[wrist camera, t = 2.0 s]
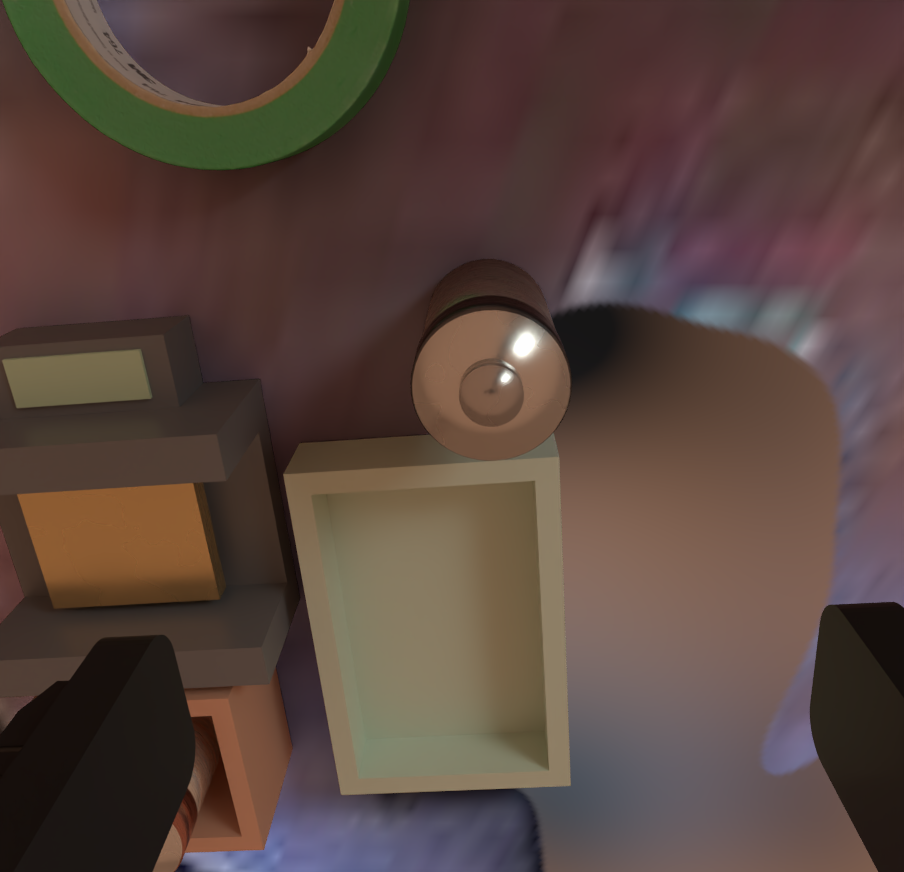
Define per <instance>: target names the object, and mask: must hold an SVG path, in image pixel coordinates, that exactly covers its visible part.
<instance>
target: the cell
mask: <svg viewBox="0 0 904 872" xmlns="http://www.w3.org/2000/svg"><path fill="white" fill-rule="evenodd" d="M571 392H572V377H571V370H570V366H569V362H568V359H567V356H566V353H565V350H564V348H563V345H562V342H561V340H560V337H559V335H558V334H557V332H556V330H555V327H554V324H553V321H552V318H551V315H550V313H549V310H548V307H547V304H546V301H545V298H544V296H543V293H542V291H541V289H540V288H539V286H538V284H537V283H536V282H535V280H534V279H533V278H532V277H531V276H530V275H529V274H528V273H526V272H525V271H524V270H523V269H521V268H519V267H518V266H516V265H514V264H511V263H509V262H506V261H502V260H496V259H480V260H475V261H471V262H468V263H465V264H463V265H461V266H459V267H457V268H456V269H454V270H452V271H451V272H450V273H449V274H447V275H446V276H445V277H444V279H443V280H442V281H441V282H440V283H439V285H438V286H437V288H436V289H435V291H434V293H433V295H432V298H431V301H430V305H429V309H428V313H427V317H426V322H425V326H424V330H423V334H422V338H421V340H420V343H419V345H418V348H417V352H416V356H415V361H414V365H413V369H412V373H411V396H412V402H413V405H414V408H415V411H416V414H417V416H418V418H419V420H420V422H421V423H422V425H423V426H424V428H425V429H426V430H427V432H428V433H429V434H430V435H431V436H432V437H433V438H434V439H435V440H436V441H437V442H438V443H440V444H441V445H442V446H444V447H445V448H447V449H448V450H450V451H452V452H454V453H456V454H459V455H461V456H464V457H467V458H471V459H476V460H484V461H497V460H505V459H510V458H514V457H517V456H520V455H522V454H525V453H527V452H529V451H531V450H533V449H535V448H536V447H537V446H539V445H540V444H542V443H543V442H544V441H545V440H546V439H548V438H549V437H550V436H551V435H552V433H553V432H554V431H555V430H556V429H557V427H558V426H559V424H560V423H561V421H562V420H563V417H564V415H565V413H566V411H567V408H568V405H569V402H570V397H571Z"/></svg>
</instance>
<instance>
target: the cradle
mask: <svg viewBox="0 0 904 872" xmlns="http://www.w3.org/2000/svg"><path fill="white" fill-rule="evenodd" d="M202 482H203V485H204V490H205V494H206V498H207V503H208V507H209V512H210V516H211V521H212V525H213V530H214V534H215V539H216V543H217V548H218V552H219V556H220V561H221V565H222V570H223V574H224V579H225V583H226V588H225V590H224V592H223V594H222V596H221V598H220V600H203V601H185V602H166V603H148V604H130V605H112V606H94V607H76V608H57V609H54V607H53V604H52V601H51V598H50V595H49V592H48V588H47V585H46V582H45V579H44V576H43V573H42V570H41V567H40V564H39V561H38V558H37V555H36V552H35V548H34V545H33V542H32V539H31V536H30V533H29V530H28V527H27V524H26V521H25V518H24V515H23V511H22V508H21V505H20V502H19V499H18V496H17V494H29V493H45V492H61V491H76V490H92V489H108V488H123V487H139V486H155V485H170V484H186V483H202ZM0 525H1V528H2V531H3V534H4V537H5V540H6V543H7V546H8V549H9V552H10V555H11V558H12V561H13V564H14V567H15V570H16V573H17V576H18V579H19V582H20V584H21V587H22V590H23V593H24V596H25V597H24V599H23V600H22V601H21V602H20V603H19V604H18V605H17V606H16V607H15V608H14V610H13V611H12V612H11V613H10V614H9V615H8V616H7V617H6V618H5V619H4V621H3V622H2V623H1V624H0V697H20V696H38V695H40V694H41V693H42V692H44V691H45V690H46V689H47V688H49V687H50V686H51V685H52V684H54V683H55V682H56V681H69V680H70V679H71V677H72V676H73V675H74V673H75V672H76V670H77V669H78V667H79V666H80V665H81V663H82V662H83V660H84V659H85V657H86V656H87V655H88V653H89V652H90V650H91V649H92V647H93V646H94V645H95V644H96V642H97V641H99V640H100V639H102V638H104V637H123V636H144V635H165V636H166V637H168V638H169V640H170V641H171V643H172V646H173V649H174V652H175V656H176V660H177V664H178V668H179V672H180V676H181V680H182V684H183V688H205V687H225V686H246V685H267V684H270V681H271V679H272V676H273V673H274V670H275V667H276V664H277V662H278V659H279V656H280V653H281V650H282V648H283V645H284V642H285V639H286V636H287V633H288V631H289V628H290V625H291V622H292V619H293V617H294V614H295V611H296V608H297V605H298V602H299V600H300V595H299V590H298V585H297V579H296V574H295V568H294V563H293V557H292V552H291V546H290V541H289V536H288V530H287V525H286V519H285V514H284V508H283V503H282V498H281V492H280V487H279V481H278V476H277V470H276V465H275V459H274V454H273V449H272V443H271V438H270V432H269V427H268V421H267V416H266V411H265V405H264V400H263V394H262V389H261V383H260V379H251V380H237V381H223V382H209V383H203V380H202V375H201V370H200V366H199V361H198V356H197V352H196V347H195V342H194V337H193V333H192V328H191V323H190V319H189V315H188V316H175V317H161V318H148V319H135V320H122V321H109V322H96V323H83V324H69V325H56V326H43V327H30V328H17V329H15V330H13V331H11V332H9V333H7V334H5V335H3V336H1V337H0Z"/></svg>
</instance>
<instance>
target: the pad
mask: <svg viewBox="0 0 904 872" xmlns="http://www.w3.org/2000/svg"><path fill="white" fill-rule="evenodd" d="M17 496H18V499H19V502H20V505H21V508H22V511H23V515H24V518H25V521H26V524H27V527H28V530H29V533H30V536H31V539H32V542H33V545H34V548H35V552H36V555H37V558H38V561H39V564H40V567H41V570H42V573H43V576H44V579H45V582H46V585H47V588H48V592H49V595H50V598H51V601H52V604H53V607H54V609H57V608H76V607H94V606H112V605H130V604H148V603H166V602H185V601H203V600H220V598H221V596H222V594H223V592H224V590H225V588H226V583H225V579H224V574H223V570H222V565H221V561H220V556H219V552H218V548H217V543H216V539H215V534H214V530H213V525H212V521H211V516H210V512H209V507H208V503H207V498H206V494H205V490H204V485H203V482H202V483H186V484H170V485H155V486H139V487H123V488H108V489H92V490H76V491H61V492H45V493H29V494H17Z"/></svg>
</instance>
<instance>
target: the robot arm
mask: <svg viewBox="0 0 904 872" xmlns="http://www.w3.org/2000/svg"><path fill="white" fill-rule="evenodd" d="M810 723H811V731H812V736H813V740H814V744H815V748H816V751H817V754H818V756H819V759H820V761H821V763H822V765H823V767H824V769H825V771H826V773H827V775H828V777H829V779H830V781H831V782H832V784H833V786H834V788H835V790H836V792H837V794H838V796H839V798H840V800H841V802H842V803H843V805H844V807H845V809H846V811H847V813H848V815H849V817H850V819H851V821H852V822H853V824H854V826H855V828H856V830H857V832H858V834H859V836H860V838H861V839H862V842H863V843H864V845H865V847H866V849H867V851H868V853H869V855H870V857H871V859H872V861H873V862H874V864H875V866H876V868H877V870H878V872H904V608H903V607H902V606H901V605H899V604H898V603H895V602H881V603H860V604H839V605H828V606H827V607H826V608H825V609H824V611H823V613H822V616H821V620H820V627H819V635H818V644H817V652H816V660H815V669H814V677H813V686H812V694H811V702H810ZM195 747H196V745H195V732H194V727H193V723H192V719H191V715H190V711H189V707H188V704H187V700H186V696H185V692H184V688H183V684H182V680H181V676H180V672H179V668H178V664H177V660H176V656H175V652H174V649H173V646H172V643H171V641H170V640H169V638H168V637H166V636H165V635H144V636H123V637H104V638H102V639H100V640H99V641H97V642H96V644H95V645H94V646H93V647H92V649H91V650H90V652H89V653H88V655H87V656H86V657H85V659H84V660H83V662H82V663H81V665H80V666H79V667H78V669H77V670H76V672H75V673H74V675H73V676H72V677H71V679H70V680H69V681H56V682H55V683H54V684H52V685H51V686H50V687H49V688H47V689H46V690H45V691H44V692H42V693H41V694H40V695H38V696H37V697H36V698H35V699H33V700H32V701H31V702H30V703H28V704H27V705H26V706H24V707H23V708H22V709H21V710H19V711H18V712H17V714H16V715H15V716H14V718H13V719H12V720H11V722H10V723H9V724H8V726H7V727H6V728H5V730H4V731H3V732H2V734H1V735H0V872H153V870H154V867H155V865H156V862H157V860H158V858H159V855H160V853H161V850H162V848H163V846H164V843H165V841H166V839H167V836H168V834H169V831H170V829H171V827H172V824H173V822H174V819H175V817H176V815H177V812H178V810H179V808H180V805H181V803H182V800H183V798H184V796H185V793H186V791H187V788H188V786H189V783H190V781H191V777H192V773H193V768H194V762H195Z"/></svg>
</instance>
